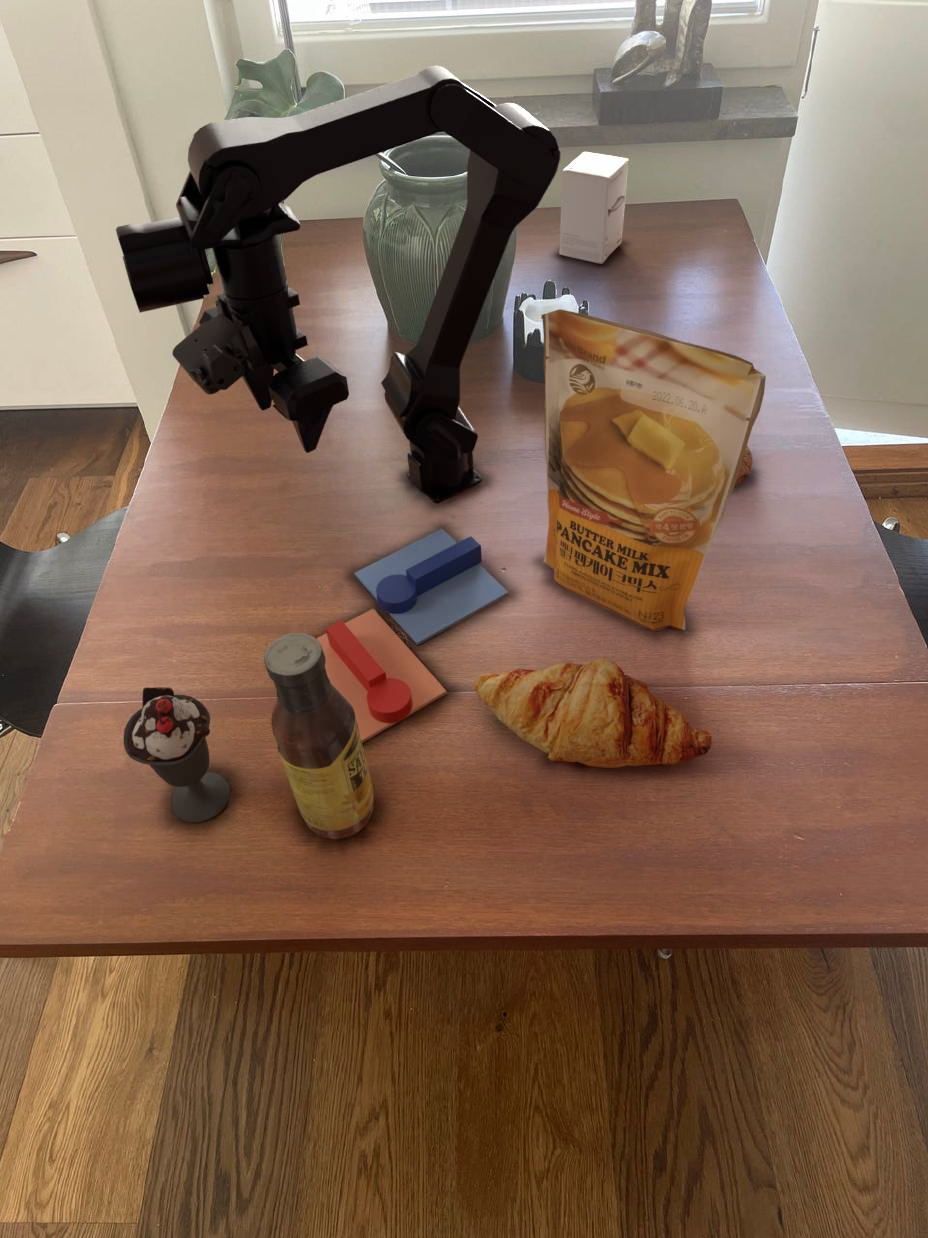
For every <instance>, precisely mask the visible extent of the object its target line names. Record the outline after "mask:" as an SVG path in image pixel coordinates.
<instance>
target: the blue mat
mask: <svg viewBox="0 0 928 1238" xmlns="http://www.w3.org/2000/svg"><path fill="white" fill-rule="evenodd" d="M456 543H458V542H457V541H456V540H454V538H453V537H452V536H450V534H449V533H447V532H446V531H445V530H444V529H443V528H439V529H438V530H436V531H434V532H432V533H430V534H428V535H426V536H424V537H422V538H420V539H418V540H417V541H414V542H413V543H411V544H408V545H406V546H404V547H403V548H401V549H398V550H397V551H395V552H392V553H391V554H389V555H387V556H385V557H383V558H381V559H379V560H376V561H374V562H373V563H371V564H370V565H367V566H365V567H363V568H361V569H359V570H357V571H356V572H354V576H355V578H357V580H358V581H359V582H360V583H361V584H362V586H364V588H366V590H367V591H368V592H369V593H370V594H371V596H373V597H374V599H375V601H376V602H378V600H377V594H376V587H377V585H378V583H379V582H380V581H381V580H382V579H383V578H385V577H387V576H390V575H395V574H401V575H406V576H407V574H406V569H408V568H410V567H412V566H414V565H416V564H418V563H420V562H422V561H424V560H426V559H428V558H429V557H431V556H433V555H435V554H437V553H439V552H441V551H443V550H445V549H447V548H449V547H451V546H453V545H455V544H456ZM509 593H510V592H509V591H508V590H507V589H506V588H505V587H504V586H503V585H502V584H501V583H500V582H499V581H497V579H496V578H494V577H493V575H491V574H490V573H489V572H488V571H487V570H486V569H485V568H484V567H483V566H482V565H481V564H480V563H479V564H477V565H475V566H473V567H471V568H469V569H468V570H466V571H464V572H462V573H460V574H458V575H456V576H455V577H453V578H451V579H449V580H447V581H445V582H443V583H441V584H440V585H438V586H436V587H434V588H432V589H430V590H428V591H426V592H425V593H423V594H421V595H419V596H417V602H416V604H415V606H414V607H413V608H412V609H410V610H409V611H407V612H404V613H399V614H392V613H388V615H389V616H390V617H391V618H392V619H393V620H394V621H395V623H396V624H398V625H399V627H400V628H401V629H402V630H403V631H404V632H405V634H407V635H408V637H409V638H410V639H411V640H412V641H413V642H414V643H415V644H416V646H419V645H421V644H423V643H425V642H427V641H428V640H430V639H432V638H434V637H435V636H438V635H439V634H441V633H442V632H444V631H446V630H448V629H450V628H452V627H453V626H455V625H457V624H459V623H460V622H462V621H464V620H466V619H468V618H470V617H471V616H473V615H475V614H476V613H478V612H480V611H482V610H484V609H486V608H487V607H489V606H492V605H493V604H494V603H497V602H498V601H500V600H502V599H504V598H506V597H507V596H509V595H510V594H509Z"/></svg>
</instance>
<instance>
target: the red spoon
mask: <svg viewBox="0 0 928 1238" xmlns="http://www.w3.org/2000/svg"><path fill="white" fill-rule="evenodd" d="M345 623H346V622H344V620H340V621H337V622H335V623H333V624H332V625H330V626H328V627H325V632H326V633H327V636H328V640H329V644H330V646H331V647H332V648H333V650H334V651H335V652H336V653H337V655H338V656H339V657H340V658H341V659H342V661H343V662H344V663H345V664H346V666H347V667H348V668H349V669H350V671H351V672H352V673H353V674H354V676H355V677H356V678H357V679H358V680H359V682H360V683H361V684H362V685H363V687H364V688H365V689H366V690H367V692H368V693H367V703H368V707H369V711H370V714H371V715H372V716H373V717H374V718H375V719H376V720H378V721H380V722H383V723H395V722H397V723H399V722H400V721H402V720H404V719H406V718H407V717H408V716H407V715H408V714H409V713H410V711H411V709H412V705H413V702H412V696H411V690H410V688H409V686H408V685H407V684H406V683H405V682H404V681H402V680H400V679H397V678H386V672H385V671H384V670H383V669H382V667H381V666H380V665H379V664H378V663H377V661H376V660H375V659H374V658H373V657H372V656H371V654H370V653H369V652H368V651H367V650H366V648H365V647H364V646H363V645H362V644H361V642H360V641H359V640H358V639H357V638H356V637H355V635H354V634H353V633H352V632H351V631H350V629H349V628H348V627H347V626H346V625H345ZM406 716H407V717H406ZM398 721H399V722H398ZM395 724H396V723H395Z"/></svg>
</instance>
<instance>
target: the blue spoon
mask: <svg viewBox="0 0 928 1238" xmlns="http://www.w3.org/2000/svg"><path fill="white" fill-rule="evenodd" d="M482 561H483V556H482V545H481V543H479V542H478V541H477V540H476V539H475V538H474V537H473V536H472V535H470V536H468V537H466V538H464V539H462V540H460V541H458V542H457V543H456V544H455V545H453V546H451V547H449V548H447V549H445V550H443V551H441V552H439V553H437V554H435V555H433V556H431V557H429V558H428V559H426V560H424V561H422V562H420V563H418V564H416V565H414V566H412V567H410V568H408V569H406V574H407V576H406V575H401V574H395V575H390V576H387V577H385V578H383V579H382V580H381V581H380V582H379V583H378V585H377V587H376V594H377V600H378V601H377V600H376V601H377V603H378V606H379V608H380V609H381V610H383V611H384V612H386V613H387V614H389V613H392V614H399V613H404V612H407V611H409V610H410V609H412V608H413V607H414V606H415V604H416V602H417V596H419V595H421V594H423V593H425V592H426V591H428V590H430V589H432V588H434V587H436V586H438V585H440V584H441V583H443V582H445V581H447V580H449V579H451V578H453V577H455V576H456V575H458V574H460V573H462V572H464V571H466V570H468V569H469V568H471V567H473V566H475V565H477V564H480V563H482Z"/></svg>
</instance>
